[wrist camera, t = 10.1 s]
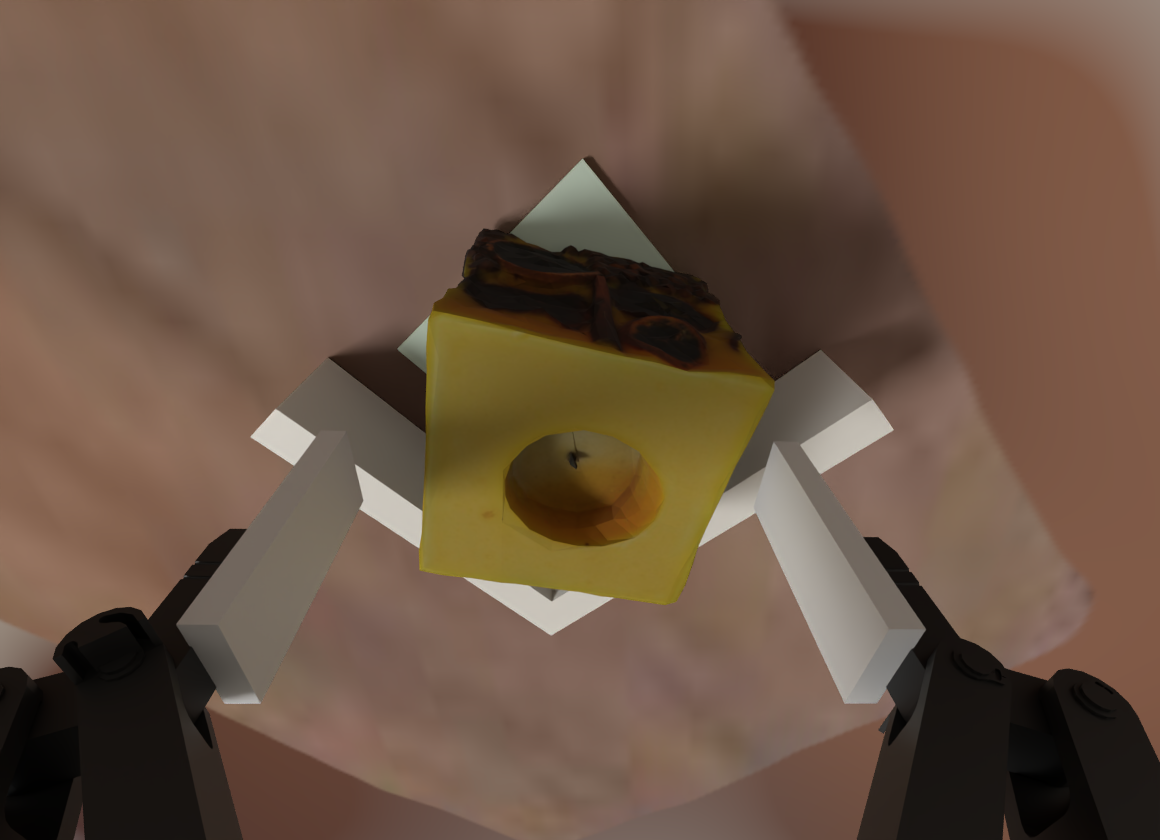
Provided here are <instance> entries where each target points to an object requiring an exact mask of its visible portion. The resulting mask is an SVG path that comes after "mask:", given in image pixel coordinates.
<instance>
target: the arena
mask: <svg viewBox="0 0 1160 840" xmlns="http://www.w3.org/2000/svg"><path fill="white" fill-rule="evenodd" d="M321 430H322V431H347V435H348V439H349V443H350V447H351V451H352V455H353V459H354V463H355V467H356V471H357V476H358V480H359V484H360V488H361V492H362V496H363V500H364V501H363V503H362V505H361V507H360V510H362V511H363V512H365V513H366V514H368V515H369V516H371V517H373V518H374V519H376V520H377V521H379V522H380V523H382V524H383V525H385V526H386V527H388V528H389V529H391V530H392V531H394V532H395V533H397V534H398V535H400V536H401V537H403V538H404V539H406V540H407V541H409V542H410V543H412V544H413V545H415V546H416V547H418V548H419V547H420V540H421V534H422V510H423V491H424V472H425V446H426V433H424V432H423V431H422V430H421V429H419V428H418V427H417V426H415V425H414V424H413V423H412V422H410V421H409V420H408V419H406V418H405V417H404V416H403V415H401V414H400V413H399V412H397V411H396V410H395V409H394V408H392V407H391V406H390V405H388V404H387V403H386V402H385V401H383V400H382V399H381V398H379V397H378V396H377V395H376V394H374V393H373V392H372V391H370V390H369V389H368V388H367V387H365V386H364V385H363V384H361V383H360V382H359V381H358V380H356V379H355V378H354V377H352V376H351V375H350V374H349V373H347V372H346V371H345V370H343V369H342V368H341V367H340V366H338V365H337V364H336V363H334V362H333V361H332V360H331V359H329V358H327V359H326V360H325V361H324V362H323V363H322V364H321V365H320V366H319V367H318V368H317V369H316V370H315V371H314V372H313V373H312V374H311V375H310V376H309V377H308V378H307V379H306V380H305V381H304V382H303V383H302V384H301V385H300V386H299V387H298V388H296V389H295V390H294V391H293V392H292V393H291V394H290V395H289V396H288V397H287V398H286V399H285V400H284V401H283V402H282V403H281V404H280V405H279V406H278V407H277V408H276V409H275V410H274V411H273V412H272V414H271V415H270V416H269V417H268V418H267V419H266V420H265V421H264V422H263V424H262V425H261V426H260V427H259V428H258V429H257V430H256V431H255V432H254V434H253V435H252V436H251V438H253V439H254V440H256V441H257V442H259V443H261V444H262V445H264V446H265V447H267V448H268V449H270V450H271V451H273V452H274V453H276V454H277V455H279V456H280V457H282V458H283V459H285V460H286V461H288V462H289V463H291V464H292V465H294V466H295V464H296V463H297V462H298V460H299V459H300V458H301V456H302V455H303V454H304V452H305V451H306V450H307V448H308V447H309V446H310V444H311V443H312V441H313V440H314V439H315V437H316V436H317V435H318V433H319V432H320V431H321ZM893 430H894V429H893V428H892V427H891V425H890V424H889V422H888V421H887V419H886V418H885V416H884V415H883V414H882V412H881V411H880V409H879V408H878V406H877V405H876V404H875V402H874V401H873V399H872V398H871V397H870V396H869V395H868V394H867V393H865V392H864V391H863V390H862V389H861V388H860V387H859V386H858V385H857V384H856V383H855V382H854V381H853V380H852V379H851V378H850V377H849V376H848V375H847V374H846V373H845V372H844V371H842V370H841V369H840V368H839V367H838V366H837V365H836V364H835V363H834V362H833V361H832V360H831V359H830V358H829V357H828V356H827V355H826V354H825V353H824V352H823V351H822V350H819V351H818V352H817V353H815V354H814V355H812V356H811V357H809V358H808V359H806V360H805V361H804V362H802V363H801V364H799V365H798V366H796V367H795V368H794V369H792V370H791V371H789V372H788V373H786V374H785V375H783V376H782V377H781V378H779V379H778V380H776V381H775V390H774V392H773V395H772V397H771V399H770V401H769V404H768V406H767V408H766V410H765V412H764V414H763V416H762V418H761V420H760V422H759V424H758V425H757V427H756V429H755V431H754V433H753V435H752V437H751V439H750V441H749V443H748V445H747V447H746V448H745V450H744V452H743V454H742V456H741V458H740V460H739V461H738V463H737V465H736V467H735V469H734V471H733V473H732V475H731V477H730V480H729V482H728V484H727V486H726V488H725V490H724V493H723V495H722V497H721V499H720V501H719V503H718V505H717V507H716V509H715V511H714V513H713V516H712V518H711V520H710V522H709V524H708V526H707V528H706V530H705V533H704V535H703V537H702V539H701V542H700V544H699V546H701V545H703V544H705V543H706V542H708V541H710V540H711V539H713V538H715V537H716V536H718V535H720V534H721V533H723V532H725V531H726V530H728V529H730V528H731V527H733V526H735V525H736V524H738V523H740V522H741V521H743V520H745V519H746V518H748V517H750V516H751V515H753V514H755V513H756V512H755V509H754V504H755V501H756V498H757V494H758V491H759V488H760V485H761V481H762V478H763V475H764V471H765V468H766V465H767V462H768V458H769V455H770V452H771V449H772V445H773V442H774V441H787V442H798V443H799V444H800V446H801V447H802V449H803V450H804V452H805V453H806V455H807V456H808V458H809V459H810V460H811V462H812V463H813V465H814V466H815V468H816V469H817V471H818V472H819V474H821V473H823V472H825V471H826V470H828V469H830V468H831V467H833V466H835V465H836V464H838V463H840V462H841V461H843V460H845V459H846V458H848V457H850V456H851V455H853V454H855V453H856V452H858V451H860V450H861V449H863V448H865V447H866V446H868V445H870V444H871V443H873V442H875V441H876V440H878V439H880V438H881V437H883V436H885V435H886V434H888V433H890V432H891V431H893ZM699 546H698V547H699ZM463 578H465V577H463ZM465 579H466V580H468V581H469V582H471V583H472V584H474V585H475V586H477V587H478V588H480V589H481V590H483V591H485V592H486V593H488V594H489V595H491V596H492V597H494V598H495V599H497V600H498V601H500V602H501V603H503V604H504V605H506V606H507V607H509V608H510V609H512V610H513V611H515V612H516V613H518V614H519V615H521V616H522V617H524V618H525V619H527V620H528V621H530V622H531V623H533V624H534V625H536V626H537V627H539V628H541V629H542V630H544V631H545V632H547V633H548V634H550V635H553V634H554V633H556V632H558V631H559V630H561V629H563V628H564V627H566V626H568V625H569V624H571V623H573V622H574V621H576V620H578V619H579V618H581V617H583V616H584V615H586V614H588V613H589V612H591V611H593V610H594V609H596V608H598V607H599V606H601V605H603V604H604V603H606V602H608V601H609V600H611V599H613V597H602V596H596V595H592V594H587V593H582V592H574V591H566V590H558V589H550V588H543V587H535V586H528V585H520V584H510V583H499V582H493V581H486V580H480V579H474V578H465Z"/></svg>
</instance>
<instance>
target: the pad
mask: <svg viewBox="0 0 1160 840" xmlns="http://www.w3.org/2000/svg"><path fill="white" fill-rule="evenodd" d="M511 233H512V234H514V235H515V236H517V237H519V238H520V239H522V240H523V241H525V242H526V243H530V244H534V245H537V246H539V247H541V248H544V249H546V250H548V251H551V252H561V251H562V250H563V249H564V248H565V247H568V246H570V245H572V246H574V247H575V248H576V249H577V250H578V251H581V250H583V249H587V250H591V251H595V252H600V253H603V254H605V255H608V256H612V257H620V258H625V259H630V260H633V261H636V262H638V263H641V262H644V263H646V264H648V265H649V266H651V267H656V268H661V269H665V270H669V271H672V272H674V271H673V269H672V268H671V267H670V266H669V264H668V263H667V262H666V261H665V259H664V258H663V257H662V256H661V255H660V253H659V252H658V251H657V250H656V248H655V247H654V246H653V245H652V243H651V242H650V241H649V240H648V238H647V237H646V236H645V235H644V234H643V232H642V231H641V230H640V229H639V227H638V226H637V225H636V224H635V222H634V221H633V220H632V219H631V218H630V216H629V215H628V214H627V213H626V211H625V210H624V209H623V208H622V206H621V205H620V204H619V203H618V201H617V200H616V199H615V198H614V197H613V195H612V194H611V193H610V192H609V190H608V189H607V188H606V187H605V185H604V184H603V183H602V182H601V180H600V179H599V178H598V177H597V176H596V174H595V173H594V172H593V171H592V169H591V168H590V167H589V166H588V164H587V163H586V162H585V161H584V159H583V158H582V160H581V161H580V162H579V163H578V164H577V165H576V166H575V167H574V168H573V169H572V170H571V171H570V172H569V173H568V174H567V175H566V176H565V177H564V178H563V179H562V180H561V181H560V182H559V183H558V184H557V185H556V186H555V187H554V188H553V189H552V190H551V191H550V192H549V193H548V194H547V195H546V196H545V197H544V199H543V200H542V201H541V202H540V203H539V204H538V205H537V206H536V207H535V208H534V209H533V210H532V211H531V212H530V213H529V214H528V215H527V216H526V217H525V218H524V219H523V220H522V221H521V222H520V223H519V224H518V225H517V226H516V227H515V228H514V229H513V230H512V231H511V232H510V233H509V234H511ZM428 318H429V317H428ZM428 318H427V319H426V320H425V321H424V322H423V323H422V324H421V325H420V326H419V327H418V328H417V329H416V330H415V331H414V332H413V333H412V334H411V335H410V336H409V337H408V338H407V339H406V340H405V341H404V342H403V343H402V344H401V345H400V346H399V348H398V349H397V350H398V351H400V352H401V353H402V354H403V355H404V356H406V357H407V358H408V359H409V360H410V361H412V362H413V363H414V364H415V365H416V366H418V367H419V368H420V369H421V370H422V371H424V372H425V373H426V374H427V368H426V341H427V328H428Z"/></svg>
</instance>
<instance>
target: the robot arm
mask: <svg viewBox="0 0 1160 840" xmlns="http://www.w3.org/2000/svg"><path fill="white" fill-rule="evenodd" d="M363 501H364V500H363V496H362V492H361V488H360V484H359V480H358V476H357V471H356V467H355V463H354V459H353V455H352V451H351V447H350V443H349V439H348V435H347V431H322V430H321V431H320V432H319V433H318V435H317V436H316V437H315V439H314V440H313V441H312V443H311V444H310V446H309V447H308V448H307V450H306V451H305V452H304V454H303V455H302V456H301V458H300V459H299V460H298V462H297V463H296V464H295V466H294V467H293V468H292V470H291V471H290V472H289V474H288V475H287V476H286V478H285V479H284V480H283V482H282V483H281V484H280V486H279V487H278V488H277V490H276V491H275V492H274V494H273V495H272V496H271V498H270V499H269V501H268V502H267V503H266V505H265V506H264V507H263V509H262V510H261V511H260V513H259V514H258V515H257V517H256V518H255V519H254V521H253V522H252V523H251V525H250V526H249V527H248V529H229V530H228V531H226V532H225V533H224V534H222V535H221V536H219V537H218V538H217V539H215V540H214V541H213V542H211V543H210V544H209V545H208V546H207V547H206V549H205V550H204V551H203V552H202V554H201V555H200V556H199V557H198V559H197V560H196V561H195V565H192V566H191V567H190V568H189V570H188V571H187V572H186V573H185V575H184V578H183V579H181V580H180V581H179V582H178V583H177V585H176V586H175V587H174V588H173V590H172V591H171V592H170V593H169V594H168V596H167V597H166V598H165V599H164V601H163V602H162V603H161V604H160V606H159V607H158V608H157V609H156V611H155V612H154V613H153V614H152V616H151V617H150V618H149V619H148V620H147V618H146V617H145V615H144V614H143V612H142V611H141V610H139V609H135V608H132V607H125V608H115V609H112V610H109V611H105V612H102V613H99V614H97V615H95V616H93V617H91V618H90V619H88V620H86V621H84V622H82V623H81V624H79V625H78V626H77V627H75V628H74V629H73V630H72V631H70V632H69V633H68V634H67V635H66V636H65V637H64V638H63V639H62V641H61V642H60V643H59V644H58V646H57V647H56V649H55V653H54V656H53V660H54V661H55V662H56V664H57V665H58V666H59V667H60V668H61V669H62V671H63V672H62V673H58V674H54V675H51V676H47V677H43V678H39V679H35V680H32V679H31V678H30V677H29V676H28V675H27V674H26V673H25V672H24V671H23V670H22V669H21V668H14V667H5V668H0V840H73V839H74V835H75V831H76V827H77V823H78V818H79V814H80V811H81V807H82V803H83V816H84V833H85V840H243V838H242V834H241V830H240V827H239V823H238V819H237V815H236V812H235V808H234V804H233V801H232V797H231V793H230V789H229V785H228V782H227V778H226V774H225V770H224V767H223V763H222V759H221V755H220V752H219V748H218V744H217V741H216V737H215V733H214V729H213V725H212V722H211V718H210V714H209V712H208V711H207V709H206V708H205V706H206V704H207V702H208V701H209V699H210V697H211V696H212V694H213V692H214V691H215V689H216V690H217V692H218V694H219V695H220V697H221V699H222V700H223V702H224V703H225V704H261V702H262V700H263V698H264V696H265V694H266V692H267V690H268V688H269V686H270V684H271V682H272V680H273V678H274V676H275V674H276V672H277V670H278V668H279V666H280V664H281V662H282V660H283V658H284V657H285V655H286V653H287V651H288V649H289V647H290V645H291V643H292V641H293V639H294V637H295V635H296V633H297V631H298V629H299V627H300V625H301V623H302V621H303V619H304V617H305V615H306V613H307V611H308V609H309V607H310V605H311V603H312V601H313V599H314V597H315V595H316V593H317V591H318V589H319V587H320V585H321V584H322V582H323V580H324V578H325V576H326V574H327V572H328V570H329V568H330V566H331V564H332V562H333V560H334V558H335V556H336V554H337V552H338V550H339V548H340V546H341V544H342V542H343V540H344V538H345V536H346V534H347V532H348V530H349V528H350V526H351V524H352V522H353V520H354V518H355V516H356V514H357V512H358V511H359V509H360V507H361V505H362V503H363ZM754 509H755V512H756V514H757V516H758V518H759V520H760V522H761V524H762V527H763V529H764V531H765V533H766V535H767V537H768V540H769V542H770V544H771V546H772V548H773V550H774V552H775V555H776V557H777V559H778V561H779V563H780V565H781V568H782V570H783V572H784V574H785V576H786V578H787V580H788V583H789V585H790V587H791V589H792V591H793V593H794V596H795V598H796V600H797V602H798V604H799V606H800V608H801V611H802V613H803V615H804V617H805V619H806V621H807V624H808V626H809V628H810V630H811V632H812V634H813V636H814V639H815V641H816V643H817V645H818V647H819V649H820V651H821V654H822V656H823V658H824V660H825V662H826V664H827V667H828V669H829V671H830V673H831V675H832V677H833V679H834V682H835V684H836V686H837V688H838V690H839V692H840V695H841V697H842V699H843V701H844V703H877V702H878V701H879V699H880V698H881V696H882V695H883V693H884V692H885V690H886V689H887V690H888V691H889V693H890V695H891V697H892V699H893V701H894V702H895V704H896V705H895V707H894V708H893V710H892V711H891V712H890V714H889V715H888V717H887V718H886V719H885V721H884V722H883V724H882V725H881V727H880V729H879V731H880V732H882V733H884V732H885V731H886V732H885V736H884V739H883V743H882V747H881V751H880V754H879V758H878V762H877V766H876V770H875V773H874V777H873V781H872V785H871V789H870V792H869V796H868V799H867V803H866V807H865V811H864V814H863V818H862V822H861V826H860V829H859V834H858V837H857V840H1002V839H1003V838H1002V837H1003V823H1004V814H1005V819H1006V823H1007V828H1008V832H1009V837H1010V840H1160V762H1159V760H1158V758H1157V756H1156V754H1155V751H1154V749H1153V747H1152V745H1151V743H1150V741H1149V739H1148V737H1147V734H1146V732H1145V731H1144V728H1143V726H1142V724H1141V722H1140V720H1139V718H1138V716H1137V714H1136V713H1135V711H1134V710H1133V708H1132V707H1131V705H1130V704H1129V703H1128V702H1127V701H1126V700H1125V699H1124V698H1123V697H1122V696H1121V695H1120V694H1119V693H1118V692H1117V691H1116V690H1115V689H1113V688H1112V687H1110V686H1109V685H1107V684H1106V683H1104V682H1103V681H1101V680H1099V679H1098V678H1096V677H1093V676H1091V675H1089V674H1087V673H1085V672H1082V671H1077V670H1073V669H1062V670H1058V671H1057V672H1056V673H1055V674H1054V675H1053V676H1052V677H1051V678H1050V679H1049V680H1048V681H1047V680H1044V679H1040V678H1036V677H1033V676H1030V675H1026V674H1022V673H1019V672H1015V671H1012V670H1008V669H1006V668H1004V666H1003V665H1002V663H1000V662H999V661H998V660H997V659H996V658H995V657H994V656H993V655H992V654H991V653H990V652H988V651H986V650H985V649H983V648H982V647H980V646H979V645H977V644H975V643H972V642H970V641H967V640H964V639H961V638H960V637H959V636H958V635H957V633H956V632H955V631H954V629H953V628H952V627H951V625H950V624H949V622H948V621H947V620H946V618H945V617H944V616H943V614H942V613H941V612H940V610H939V609H938V608H937V606H936V605H935V603H934V602H933V601H932V599H931V598H930V597H929V595H928V594H927V593H926V591H925V590H924V589H923V587H922V586H919V582H918V580H917V579H916V578H915V576H914V575H913V574H912V572H909V568H908V567H907V565H906V564H905V563H904V561H903V560H902V559H901V557H900V556H899V555H898V553H897V552H896V551H895V550H893V549H892V548H891V547H890V546H888V545H887V544H886V543H885V542H883V541H882V540H881V539H880V538H879V537H863V536H862V535H861V534H860V532H859V531H858V529H857V528H856V526H855V525H854V523H853V522H852V520H851V519H850V517H849V516H848V515H847V513H846V512H845V510H844V509H843V507H842V506H841V504H840V503H839V501H838V500H837V498H836V497H835V496H834V494H833V493H832V491H831V490H830V488H829V487H828V485H827V484H826V482H825V481H824V479H823V478H822V477H821V475H820V474H819V472H818V471H817V469H816V468H815V466H814V465H813V463H812V462H811V460H810V459H809V458H808V456H807V455H806V453H805V452H804V450H803V449H802V447H801V446H800V444H799V443H798V442H787V441H774V442H773V445H772V449H771V452H770V455H769V458H768V462H767V465H766V468H765V471H764V475H763V478H762V481H761V485H760V488H759V491H758V494H757V498H756V501H755V504H754Z"/></svg>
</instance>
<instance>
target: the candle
mask: <svg viewBox="0 0 1160 840" xmlns="http://www.w3.org/2000/svg"><path fill="white" fill-rule="evenodd" d="M462 276H463V277H464V280H463V281H461V282H460V283H459V284H458V287H457V288H452V289H448V290H447V292H446V294H445V295H444V297H443V298H442V299H440V300H438V301H436V302H434V305H433V308H432V312H431V314H430V316H429V318H428V328H427V341H426V368H427V379H426V409H425V415H426V446H425V472H424V491H423V510H422V534H421V540H420V547H419V566H420V571H425V572H430V573H435V574H440V575H446V576H455V577H465V578H474V579H480V580H486V581H493V582H499V583H510V584H520V585H528V586H535V587H543V588H550V589H558V590H566V591H574V592H582V593H587V594H592V595H596V596H602V597H613V598H621V599H628V600H635V601H641V602H648V603H655V604H661V605H667V604H670V603H674V602H676V601H677V599H678V598H679V596H680V594H681V592H682V590H683V588H684V586H685V584H686V581H687V579H688V576H689V573H690V570H691V568H692V565H693V561H694V558H695V555H696V551H697V549H698V546H699V544H700V542H701V539H702V537H703V535H704V533H705V530H706V528H707V526H708V524H709V522H710V520H711V518H712V516H713V513H714V511H715V509H716V507H717V505H718V503H719V501H720V499H721V497H722V495H723V493H724V490H725V488H726V486H727V484H728V482H729V480H730V477H731V475H732V473H733V471H734V469H735V467H736V465H737V463H738V461H739V460H740V458H741V456H742V454H743V452H744V450H745V448H746V447H747V445H748V443H749V441H750V439H751V437H752V435H753V433H754V431H755V429H756V427H757V425H758V424H759V422H760V420H761V418H762V416H763V414H764V412H765V410H766V408H767V406H768V404H769V401H770V399H771V397H772V395H773V392H774V390H775V381H774V380H773V379H772V378H771V377H770V376H769V375H768V374H767V373H766V372H765V371H764V370H763V369H762V368H761V367H760V366H759V365H758V363H757V362H756V361H755V360H754V359H753V358H752V357H751V356H750V355H749V354H748V353H747V352H746V350H745V348H744V346H743V344H742V342H741V340H740V339H741V338H742V337H741V335H740V334H738V333H735V332H734V331H733V330H732V329H731V327H730V326H729V325H728V323H727V322H726V320H725V318H724V315H723V313H722V311H721V308H720V302H719V300H718V299H717V298H716V297H715V296H714V295H712V294H710V293H708V286H707V283H705V282H704V281H702V280H700V279H699V278H697V277H694V276H692V275H688V274H683V273H677V272H672V271H669V270H665V269H661V268H656V267H651V266H649V265H648V264H646V263H644V262H641V263H638V262H636V261H633V260H630V259H625V258H620V257H612V256H608V255H605V254H603V253H600V252H595V251H591V250H587V249H583V250H581V251H578V250H577V249H576V248H575V247H574V246H572V245H570V246H568V247H565V248H564V249H563V250H562V251H561V252H551V251H548V250H546V249H544V248H541V247H539V246H537V245H534V244H530V243H526V242H525V241H523V240H522V239H520V238H519V237H517V236H515V235H514V234H512V233H511V234H505V233H503V232H501V231H499V230H489V229H483V230H482V231H481V232H480V233H479V235H478V236H477V238H476V240H475V243H474V245H473V246H472V248H471V249H469V250H467V253H466V255H465V261H464V267H463V273H462Z"/></svg>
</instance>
